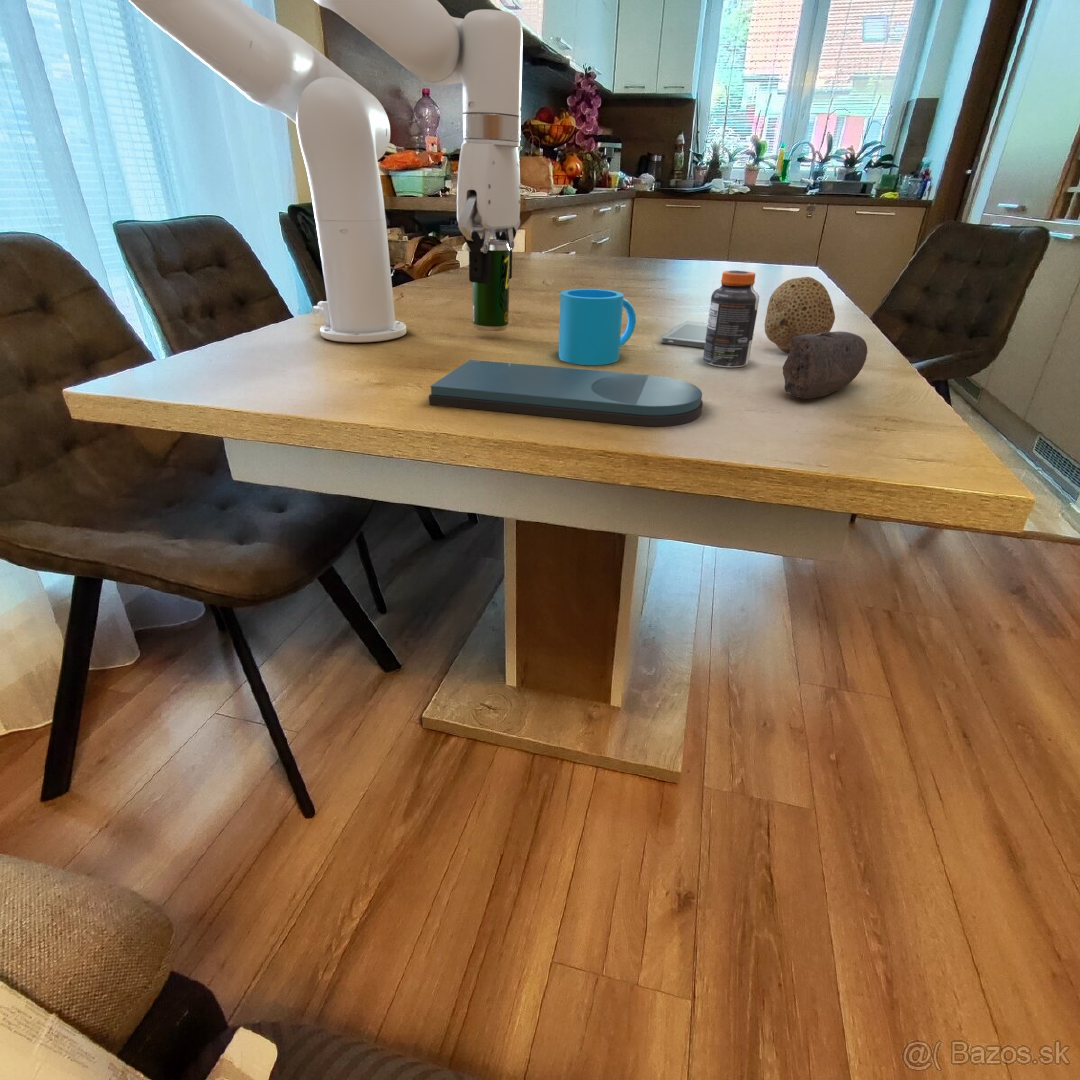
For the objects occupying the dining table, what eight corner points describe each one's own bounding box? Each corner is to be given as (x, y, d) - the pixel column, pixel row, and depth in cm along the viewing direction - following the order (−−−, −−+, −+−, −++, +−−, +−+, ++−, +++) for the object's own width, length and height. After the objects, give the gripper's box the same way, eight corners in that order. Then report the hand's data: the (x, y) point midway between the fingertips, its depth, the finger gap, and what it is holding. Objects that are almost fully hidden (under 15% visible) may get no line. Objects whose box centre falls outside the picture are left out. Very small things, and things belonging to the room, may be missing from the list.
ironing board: (429, 404, 67) (427, 385, 66) (469, 375, 77) (468, 358, 76) (698, 432, 61) (701, 411, 60) (703, 396, 71) (706, 378, 70)
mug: (584, 368, 81) (587, 300, 77) (546, 355, 87) (547, 291, 83) (652, 356, 87) (658, 293, 83) (612, 344, 93) (617, 285, 89)
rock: (836, 377, 79) (850, 319, 76) (877, 387, 76) (894, 326, 72) (763, 397, 71) (775, 333, 68) (804, 409, 68) (820, 343, 64)
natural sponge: (833, 351, 91) (851, 277, 86) (814, 363, 85) (833, 284, 80) (771, 342, 96) (784, 271, 91) (749, 353, 90) (762, 277, 85)
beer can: (475, 332, 93) (474, 241, 87) (470, 324, 97) (469, 238, 91) (511, 332, 94) (513, 242, 88) (505, 324, 99) (506, 239, 93)
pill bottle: (756, 363, 85) (772, 271, 79) (734, 371, 81) (750, 275, 76) (716, 355, 88) (729, 267, 83) (693, 362, 85) (706, 270, 79)
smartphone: (716, 349, 91) (716, 344, 91) (660, 342, 94) (661, 337, 94) (736, 330, 103) (737, 325, 102) (686, 325, 106) (687, 320, 105)
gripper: (499, 137, 92) (498, 272, 101) (429, 127, 78) (435, 284, 87) (546, 138, 89) (540, 277, 98) (482, 127, 75) (482, 290, 84)
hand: (490, 279), depth 92 cm, fingers closed on beer can, 5 cm apart
